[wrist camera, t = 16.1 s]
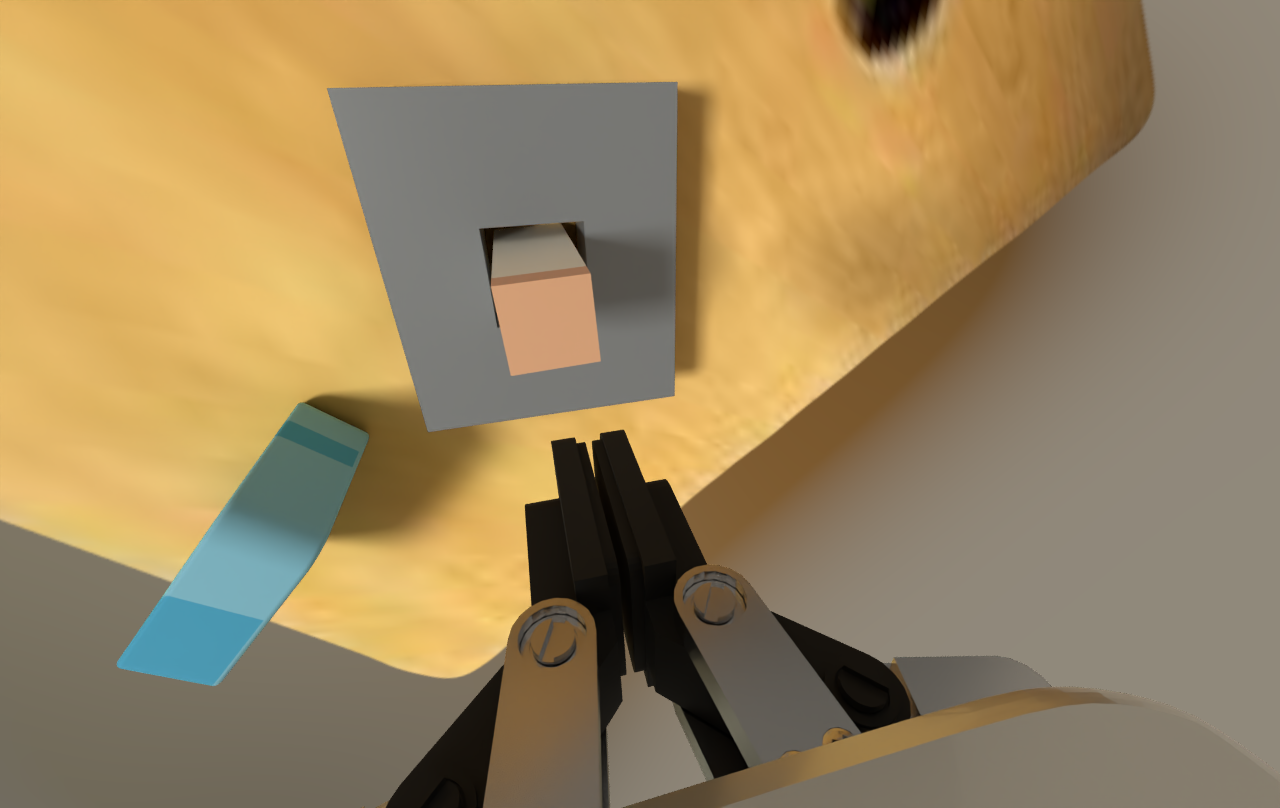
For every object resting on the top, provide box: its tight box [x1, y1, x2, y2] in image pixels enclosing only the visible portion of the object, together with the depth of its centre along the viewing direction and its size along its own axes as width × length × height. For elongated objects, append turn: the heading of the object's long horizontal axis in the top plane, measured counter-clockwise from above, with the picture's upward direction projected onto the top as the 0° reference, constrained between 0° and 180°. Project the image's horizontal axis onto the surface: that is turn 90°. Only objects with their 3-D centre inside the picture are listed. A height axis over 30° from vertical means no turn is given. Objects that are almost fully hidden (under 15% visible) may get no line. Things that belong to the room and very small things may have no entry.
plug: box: [491, 223, 601, 376], centre depth 26 cm, size 4×4×12 cm
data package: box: [117, 403, 369, 686], centre depth 29 cm, size 12×4×12 cm, turn 137°
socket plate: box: [327, 82, 677, 432], centre depth 29 cm, size 18×16×4 cm
